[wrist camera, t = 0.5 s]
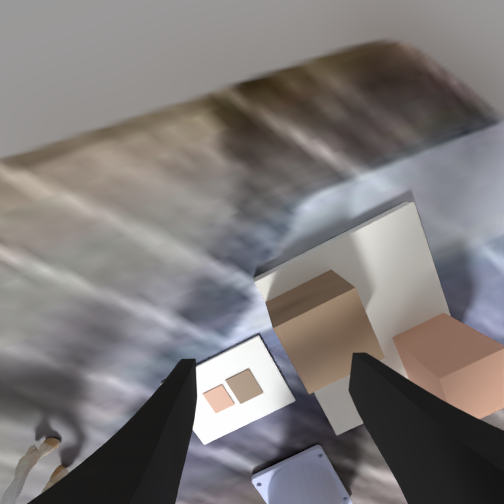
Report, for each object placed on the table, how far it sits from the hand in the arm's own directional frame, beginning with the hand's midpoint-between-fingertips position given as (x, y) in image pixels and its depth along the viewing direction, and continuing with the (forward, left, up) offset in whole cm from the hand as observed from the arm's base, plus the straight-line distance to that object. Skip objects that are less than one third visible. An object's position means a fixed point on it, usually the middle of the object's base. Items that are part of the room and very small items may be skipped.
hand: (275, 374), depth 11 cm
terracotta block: (-12, -11, -9) cm, 19 cm away
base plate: (-8, -7, -10) cm, 15 cm away
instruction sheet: (-8, +7, -10) cm, 14 cm away
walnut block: (-4, -3, -9) cm, 10 cm away
